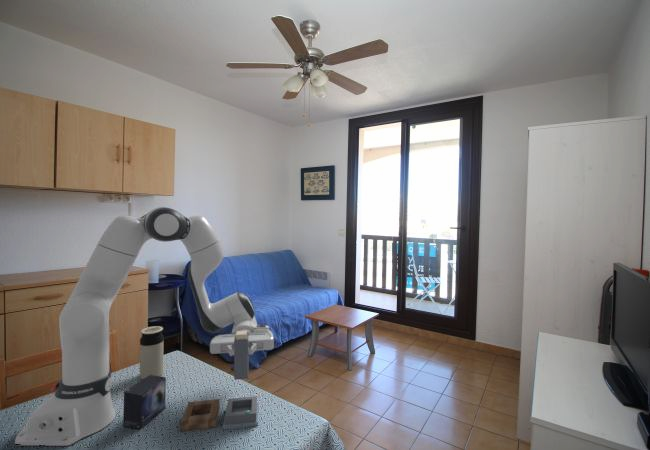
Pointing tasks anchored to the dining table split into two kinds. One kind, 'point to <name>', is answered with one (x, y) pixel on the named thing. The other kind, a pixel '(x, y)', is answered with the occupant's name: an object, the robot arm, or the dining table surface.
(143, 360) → the travel mug
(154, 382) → the small box
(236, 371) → the plug
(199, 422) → the frame
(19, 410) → the dining table surface
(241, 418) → the dock
